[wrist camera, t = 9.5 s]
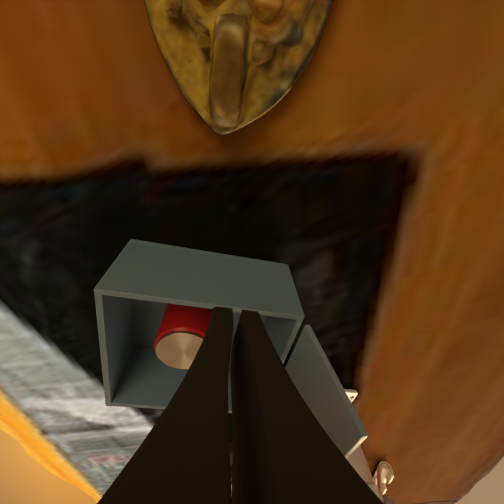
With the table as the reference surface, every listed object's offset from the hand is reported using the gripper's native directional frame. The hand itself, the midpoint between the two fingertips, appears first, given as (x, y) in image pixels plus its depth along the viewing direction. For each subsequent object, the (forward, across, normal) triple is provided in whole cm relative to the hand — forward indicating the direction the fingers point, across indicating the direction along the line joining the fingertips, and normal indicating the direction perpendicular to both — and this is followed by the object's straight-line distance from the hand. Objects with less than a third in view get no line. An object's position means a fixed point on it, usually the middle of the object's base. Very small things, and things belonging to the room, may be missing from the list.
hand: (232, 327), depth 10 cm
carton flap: (+1, -6, +9) cm, 11 cm away
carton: (+10, +1, +9) cm, 14 cm away
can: (+10, +2, +9) cm, 14 cm away
